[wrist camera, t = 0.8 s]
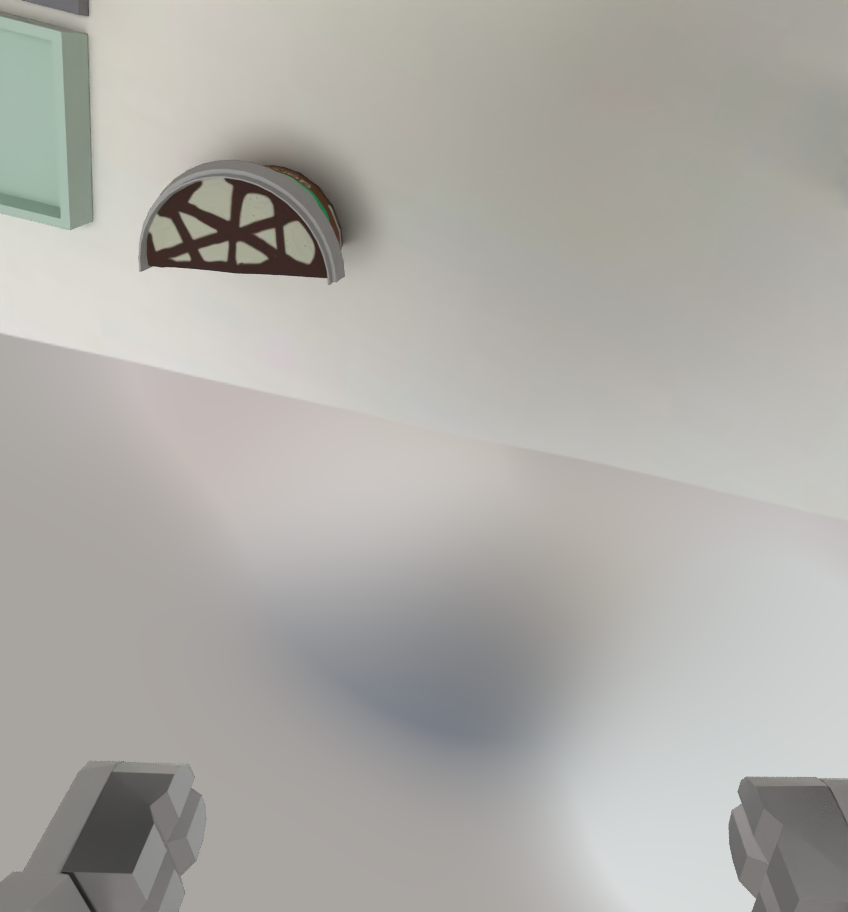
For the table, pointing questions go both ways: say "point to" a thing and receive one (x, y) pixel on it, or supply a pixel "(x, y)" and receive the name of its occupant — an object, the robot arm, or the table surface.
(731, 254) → the table surface
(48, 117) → the tray
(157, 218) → the food container
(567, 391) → the table surface
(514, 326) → the table surface
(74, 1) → the holder
